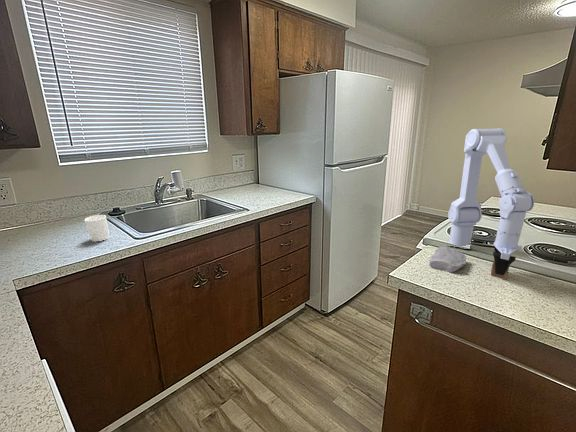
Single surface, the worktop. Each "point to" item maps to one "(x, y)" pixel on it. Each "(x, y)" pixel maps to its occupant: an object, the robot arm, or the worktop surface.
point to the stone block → (447, 259)
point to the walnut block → (497, 274)
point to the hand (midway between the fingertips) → (499, 270)
